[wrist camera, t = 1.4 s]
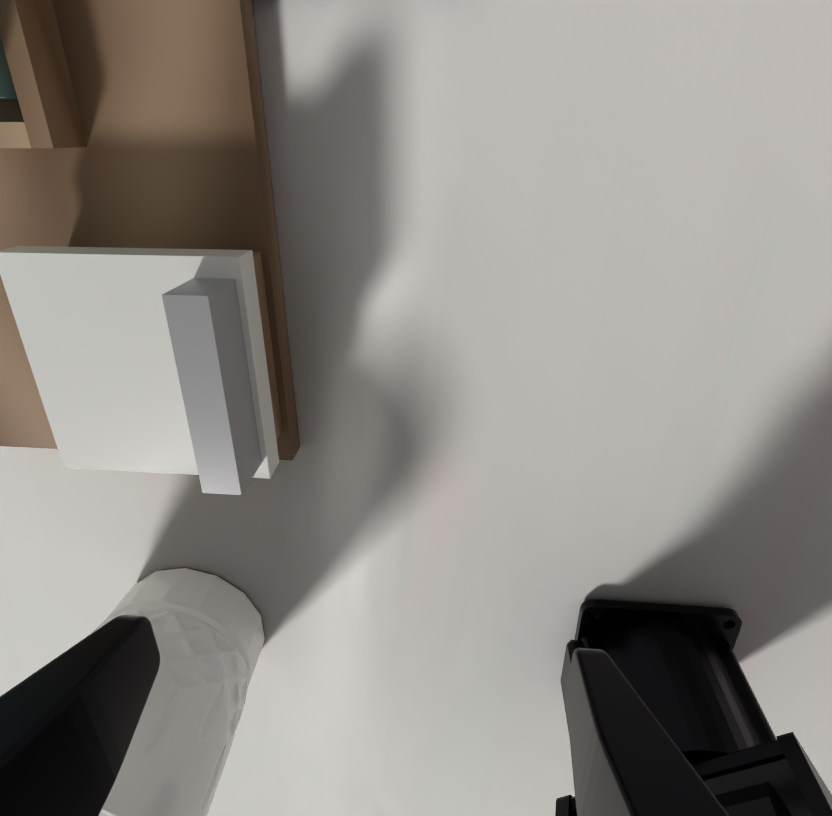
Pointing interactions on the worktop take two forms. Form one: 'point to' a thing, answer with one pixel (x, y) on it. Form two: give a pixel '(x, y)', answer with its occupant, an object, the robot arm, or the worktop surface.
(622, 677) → the robot arm
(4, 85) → the block
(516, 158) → the worktop surface
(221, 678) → the white cup
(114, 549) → the worktop surface
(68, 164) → the board
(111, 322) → the lid
